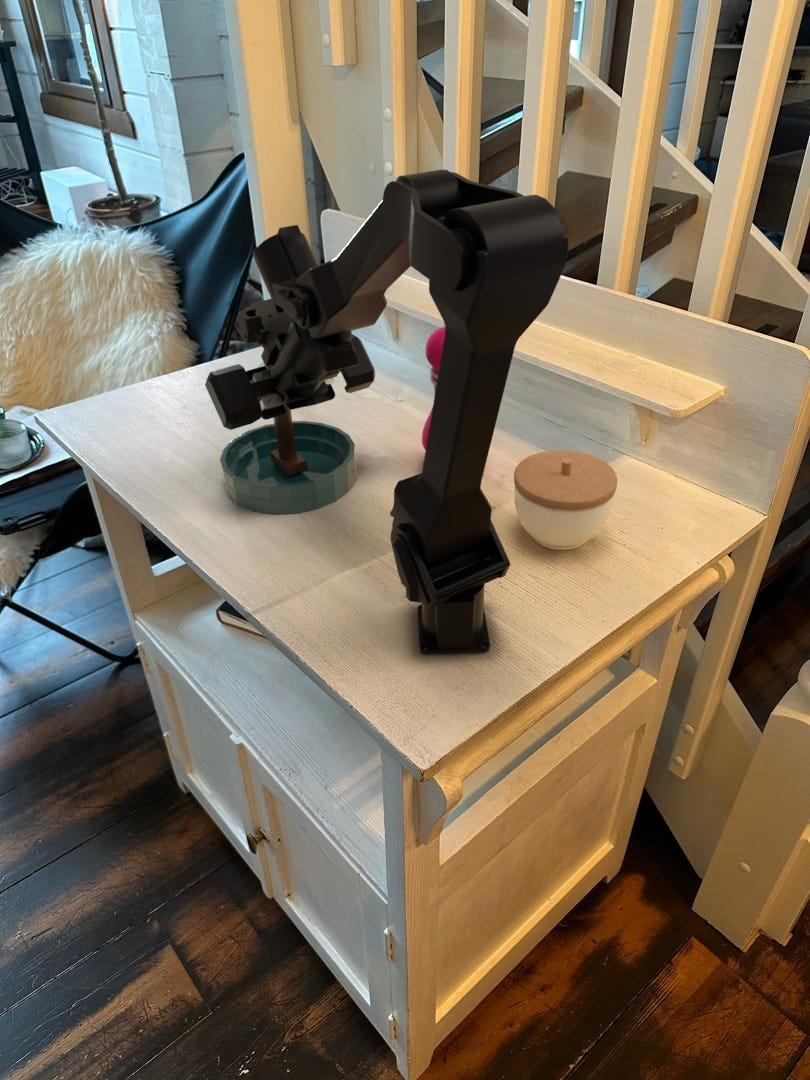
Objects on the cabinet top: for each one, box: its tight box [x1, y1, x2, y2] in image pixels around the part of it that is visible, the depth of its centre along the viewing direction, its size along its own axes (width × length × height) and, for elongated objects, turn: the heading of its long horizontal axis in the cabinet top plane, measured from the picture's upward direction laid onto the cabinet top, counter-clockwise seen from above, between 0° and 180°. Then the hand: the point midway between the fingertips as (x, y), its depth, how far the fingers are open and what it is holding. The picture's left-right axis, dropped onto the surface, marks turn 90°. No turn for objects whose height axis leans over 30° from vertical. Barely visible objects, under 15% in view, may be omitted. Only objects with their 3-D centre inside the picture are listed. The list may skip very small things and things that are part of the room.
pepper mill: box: [421, 321, 446, 451], centre depth 91 cm, size 7×7×20 cm
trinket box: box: [513, 449, 618, 551], centre depth 82 cm, size 11×11×9 cm
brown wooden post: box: [266, 365, 308, 476], centre depth 91 cm, size 5×3×14 cm, turn 34°
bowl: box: [219, 420, 358, 515], centre depth 94 cm, size 16×16×4 cm
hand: (277, 409), depth 92 cm, fingers closed on brown wooden post, 2 cm apart
